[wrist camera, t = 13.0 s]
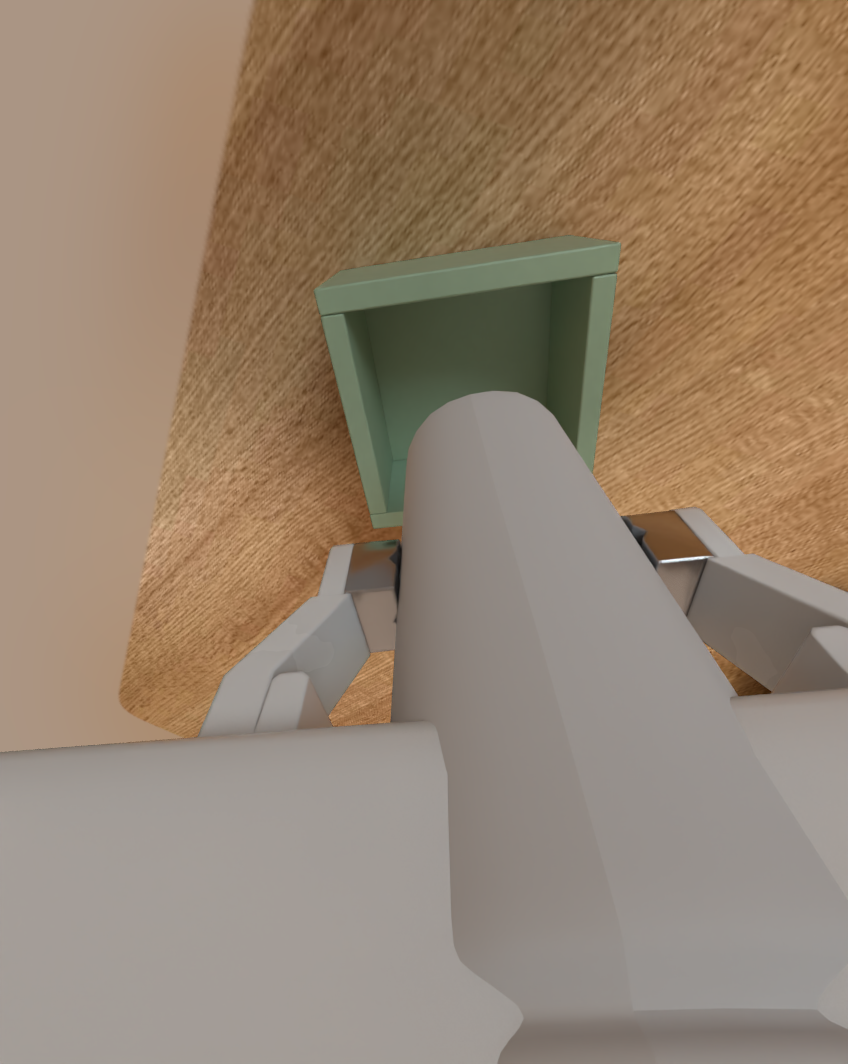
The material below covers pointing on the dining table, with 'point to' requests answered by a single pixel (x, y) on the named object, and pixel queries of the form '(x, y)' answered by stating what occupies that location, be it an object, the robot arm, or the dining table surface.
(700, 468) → the dining table surface
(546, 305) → the bin
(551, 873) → the beverage can
